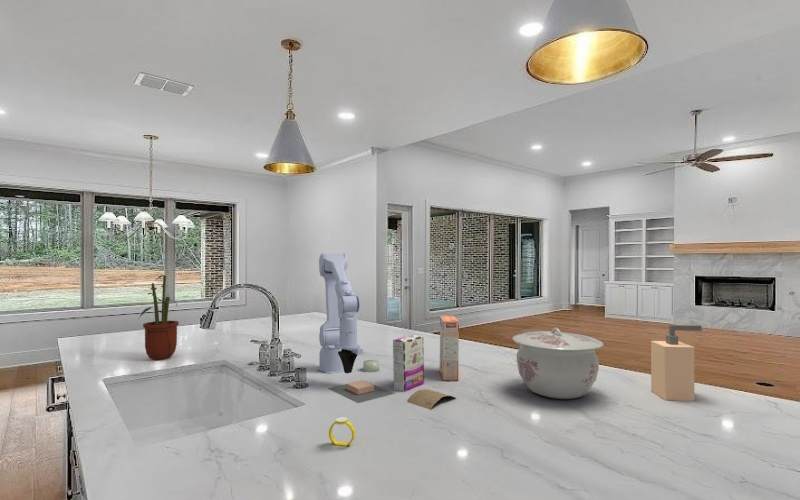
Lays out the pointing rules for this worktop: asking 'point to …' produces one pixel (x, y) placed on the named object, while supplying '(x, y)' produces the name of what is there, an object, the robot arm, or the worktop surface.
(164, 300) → the potted plant
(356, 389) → the tile
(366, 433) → the worktop surface
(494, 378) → the worktop surface
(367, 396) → the mat
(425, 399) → the clay tablet
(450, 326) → the cracker box
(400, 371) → the candy bar box
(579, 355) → the chamber pot
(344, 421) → the watch
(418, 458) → the worktop surface
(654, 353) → the soap dispenser
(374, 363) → the pale green dome
